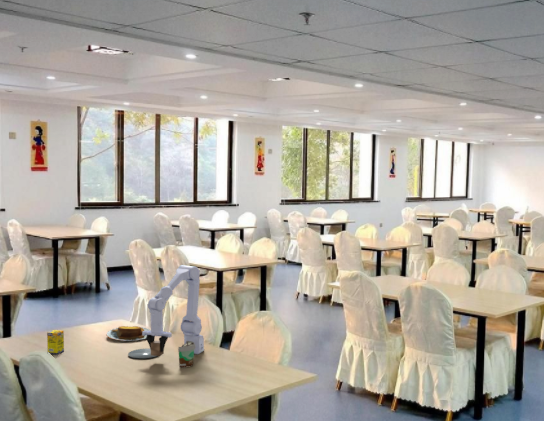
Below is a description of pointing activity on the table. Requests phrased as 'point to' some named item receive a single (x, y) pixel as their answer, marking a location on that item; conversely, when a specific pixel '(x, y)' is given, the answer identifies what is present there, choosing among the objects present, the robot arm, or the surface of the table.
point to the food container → (186, 354)
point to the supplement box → (55, 342)
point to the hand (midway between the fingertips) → (157, 351)
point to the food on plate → (127, 333)
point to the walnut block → (156, 349)
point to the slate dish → (141, 353)
